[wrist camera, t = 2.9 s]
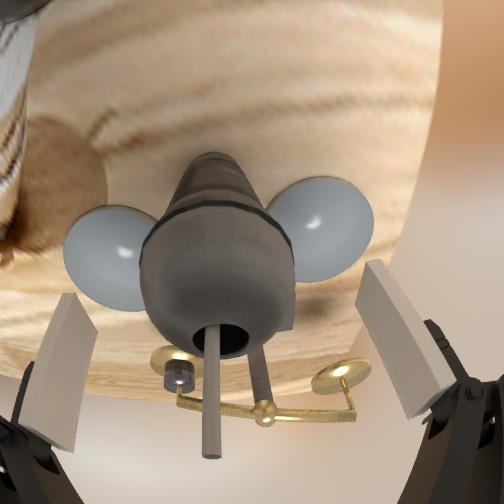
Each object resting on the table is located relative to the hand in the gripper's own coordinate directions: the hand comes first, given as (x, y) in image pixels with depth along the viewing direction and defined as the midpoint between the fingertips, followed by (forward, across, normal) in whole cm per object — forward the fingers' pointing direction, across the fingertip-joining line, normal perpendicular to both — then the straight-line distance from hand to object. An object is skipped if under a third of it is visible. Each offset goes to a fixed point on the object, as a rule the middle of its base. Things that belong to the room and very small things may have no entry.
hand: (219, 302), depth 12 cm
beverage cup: (+13, 0, 0) cm, 13 cm away
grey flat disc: (+13, -10, -6) cm, 18 cm away
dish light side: (+13, +9, -6) cm, 17 cm away
